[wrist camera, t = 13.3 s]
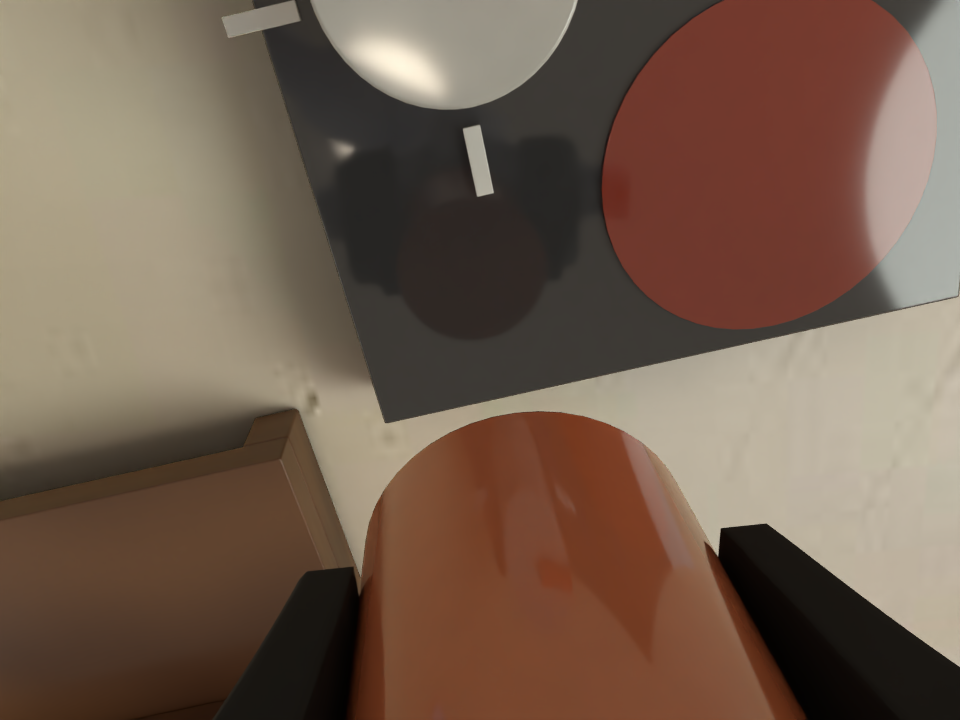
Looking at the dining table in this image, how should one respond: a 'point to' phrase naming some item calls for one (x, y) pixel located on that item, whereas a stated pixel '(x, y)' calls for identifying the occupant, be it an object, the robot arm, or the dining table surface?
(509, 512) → the jar
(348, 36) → the hob knob
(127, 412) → the dining table surface
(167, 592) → the spice shelf
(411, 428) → the dining table surface
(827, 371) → the dining table surface
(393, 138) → the hob
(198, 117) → the dining table surface
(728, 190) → the disc
